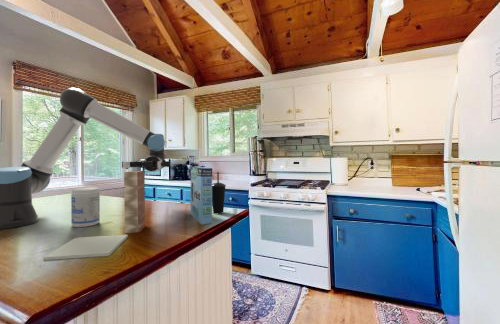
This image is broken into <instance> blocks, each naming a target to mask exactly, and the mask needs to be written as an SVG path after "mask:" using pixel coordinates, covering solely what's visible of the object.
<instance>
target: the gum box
mask: <svg viewBox="0 0 500 324" xmlns="http://www.w3.org/2000/svg"><path fill="white" fill-rule="evenodd" d="M212 184H213V167H205V166H199V165H198V166H196V165H195V166H190V215H191V216H192V217H193V219H195V220H196V221H197V222H198V223H199V224H200V225H201V226H203V225H212V224H213V204H212ZM211 223H212V224H211Z"/></svg>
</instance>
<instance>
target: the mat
mask: <svg viewBox="0 0 500 324" xmlns="http://www.w3.org/2000/svg"><path fill="white" fill-rule="evenodd" d="M128 237H129V235H128V234H117V235H98V236H97V235H95V236H84V237H83V236H82V237H75V238H72V239H71V240H69V241H68V242H67V243H64V245H62V246H59V247H58V248H57V249H55V250H53V251H52V252H50V253H47V254H46V255H45V256H44V257H43V261H53V260H65V259H66V260H68V259H69V260H70V259H81V258H96V257H97V258H98V257H109V256H111V254H113V252H115V250H116V249H117V248H119V247H120V246H121V244H122V243H124V241H126V240H127V239H128Z"/></svg>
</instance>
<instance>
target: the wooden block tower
mask: <svg viewBox="0 0 500 324" xmlns="http://www.w3.org/2000/svg"><path fill="white" fill-rule="evenodd" d="M145 179H146V177H145V170H129V171H124V172H123V185H124V187H123V189H124V190H123V192H124V193H123V195H124V196H123V197H124V201H123V202H124V204H123V205H124V233H125V234H131V233H132V234H133V233H140V232H142V230H143V229H144V228H145V227H146V193H145V192H146V191H145V190H146V188H145V187H146V186H145V184H146V183H145V182H146V181H145Z"/></svg>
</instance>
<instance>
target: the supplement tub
mask: <svg viewBox="0 0 500 324" xmlns="http://www.w3.org/2000/svg"><path fill="white" fill-rule="evenodd" d="M100 192H101V191H100V188H99V187H79V188H77V187H76V188H73V189H72V190H71V198H70V199H71V210H70V211H71V212H70V213H71V214H70V215H71V219H70V220H71V221H70V222H71V226H72V227H75V228H86V227H93V226H95V225H97V224H99V223H100V219H101V218H100V217H101V216H100V207H101V203H100V202H101V201H100V200H101V199H100V198H101V196H100V195H101V194H100Z"/></svg>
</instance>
